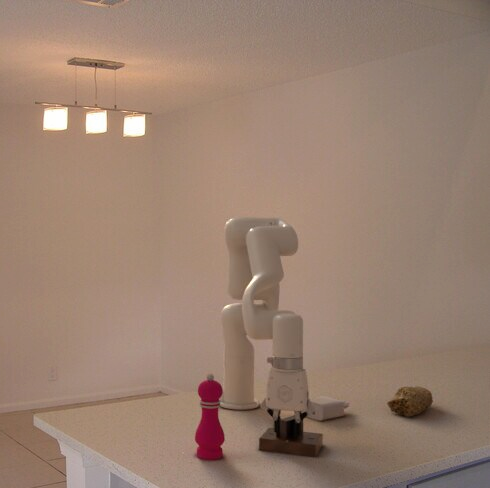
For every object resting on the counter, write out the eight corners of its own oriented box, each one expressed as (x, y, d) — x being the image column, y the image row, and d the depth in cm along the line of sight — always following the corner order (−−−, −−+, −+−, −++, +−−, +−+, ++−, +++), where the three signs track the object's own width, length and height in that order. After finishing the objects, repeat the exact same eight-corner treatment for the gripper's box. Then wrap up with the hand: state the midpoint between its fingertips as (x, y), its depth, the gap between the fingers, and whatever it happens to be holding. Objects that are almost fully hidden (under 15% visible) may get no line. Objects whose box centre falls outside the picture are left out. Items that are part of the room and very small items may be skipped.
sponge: (419, 424, 209) (448, 398, 223) (413, 398, 208) (441, 374, 222) (379, 423, 218) (409, 398, 232) (372, 398, 218) (402, 375, 232)
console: (258, 450, 180) (258, 438, 180) (269, 438, 190) (269, 426, 190) (315, 457, 175) (315, 444, 175) (322, 444, 185) (323, 432, 185)
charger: (358, 414, 215) (322, 421, 207) (335, 407, 223) (299, 414, 214) (358, 398, 215) (322, 405, 206) (335, 392, 222) (299, 398, 214)
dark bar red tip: (286, 439, 179) (286, 420, 179) (279, 437, 181) (279, 418, 181) (303, 433, 184) (303, 415, 184) (296, 432, 186) (296, 413, 185)
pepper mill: (193, 451, 179) (193, 370, 179) (221, 450, 180) (222, 370, 179) (196, 460, 172) (197, 377, 171) (226, 460, 173) (227, 376, 172)
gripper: (251, 363, 181) (251, 436, 181) (317, 368, 174) (317, 444, 175) (259, 359, 188) (259, 429, 188) (324, 363, 181) (323, 436, 181)
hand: (287, 435), depth 181 cm, fingers open, 3 cm apart
